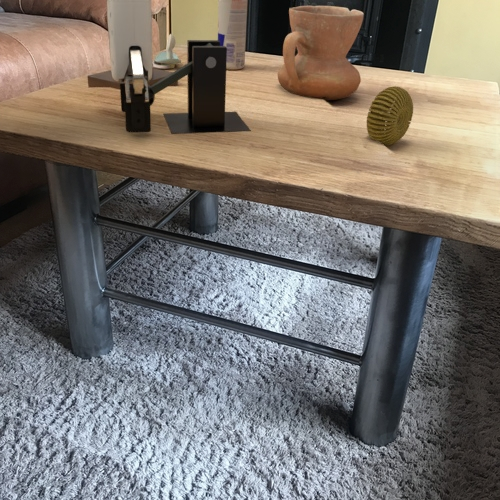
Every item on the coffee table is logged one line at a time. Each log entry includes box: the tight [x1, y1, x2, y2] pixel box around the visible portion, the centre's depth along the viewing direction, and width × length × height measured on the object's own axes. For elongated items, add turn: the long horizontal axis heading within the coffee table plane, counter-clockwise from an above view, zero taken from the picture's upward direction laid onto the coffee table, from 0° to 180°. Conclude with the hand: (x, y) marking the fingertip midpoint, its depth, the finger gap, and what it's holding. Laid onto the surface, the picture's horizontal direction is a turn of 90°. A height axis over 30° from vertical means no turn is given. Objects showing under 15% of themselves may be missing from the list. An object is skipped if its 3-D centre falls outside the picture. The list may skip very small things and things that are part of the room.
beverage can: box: [217, 0, 248, 71], centre depth 112 cm, size 6×6×15 cm
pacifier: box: [152, 33, 182, 70], centre depth 111 cm, size 7×6×6 cm
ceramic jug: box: [277, 5, 365, 101], centre depth 96 cm, size 18×14×14 cm
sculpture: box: [366, 86, 414, 147], centre depth 77 cm, size 8×4×8 cm, turn 136°
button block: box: [87, 64, 179, 91], centre depth 97 cm, size 12×10×4 cm
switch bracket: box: [162, 39, 252, 135], centre depth 77 cm, size 11×9×12 cm
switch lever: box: [148, 43, 212, 107], centre depth 75 cm, size 13×3×3 cm, turn 105°
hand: (135, 120), depth 77 cm, fingers open, 8 cm apart
